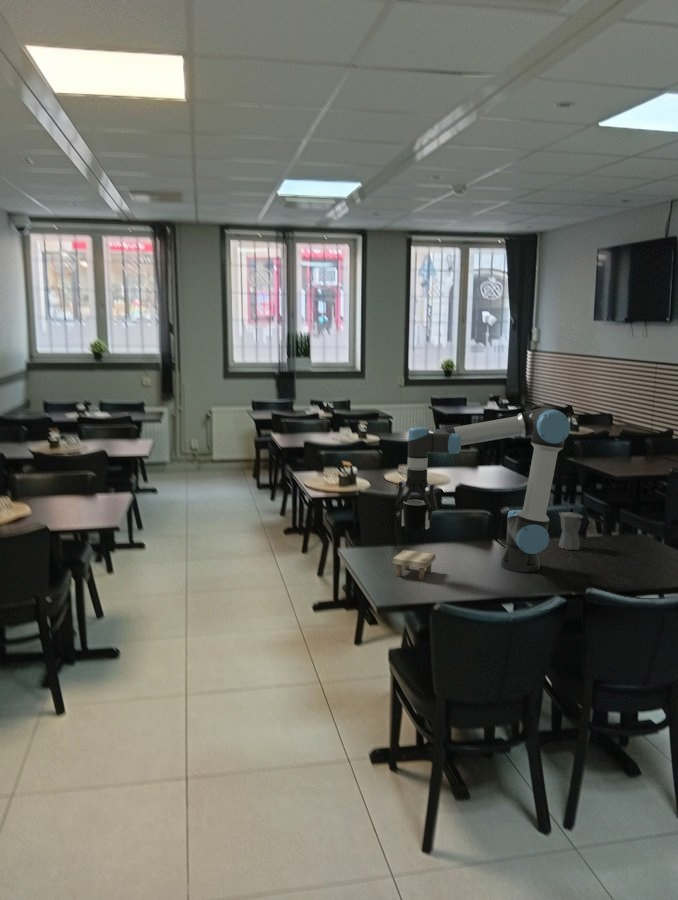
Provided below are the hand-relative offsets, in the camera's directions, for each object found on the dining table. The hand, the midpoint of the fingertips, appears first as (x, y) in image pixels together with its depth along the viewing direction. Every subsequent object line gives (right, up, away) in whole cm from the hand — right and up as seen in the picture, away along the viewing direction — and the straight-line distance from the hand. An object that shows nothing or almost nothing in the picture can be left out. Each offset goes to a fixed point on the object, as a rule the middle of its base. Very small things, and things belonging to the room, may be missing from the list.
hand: (415, 526), depth 269 cm
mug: (-1, 0, 0) cm, 1 cm away
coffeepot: (+73, -14, +41) cm, 85 cm away
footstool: (0, -18, +3) cm, 19 cm away
